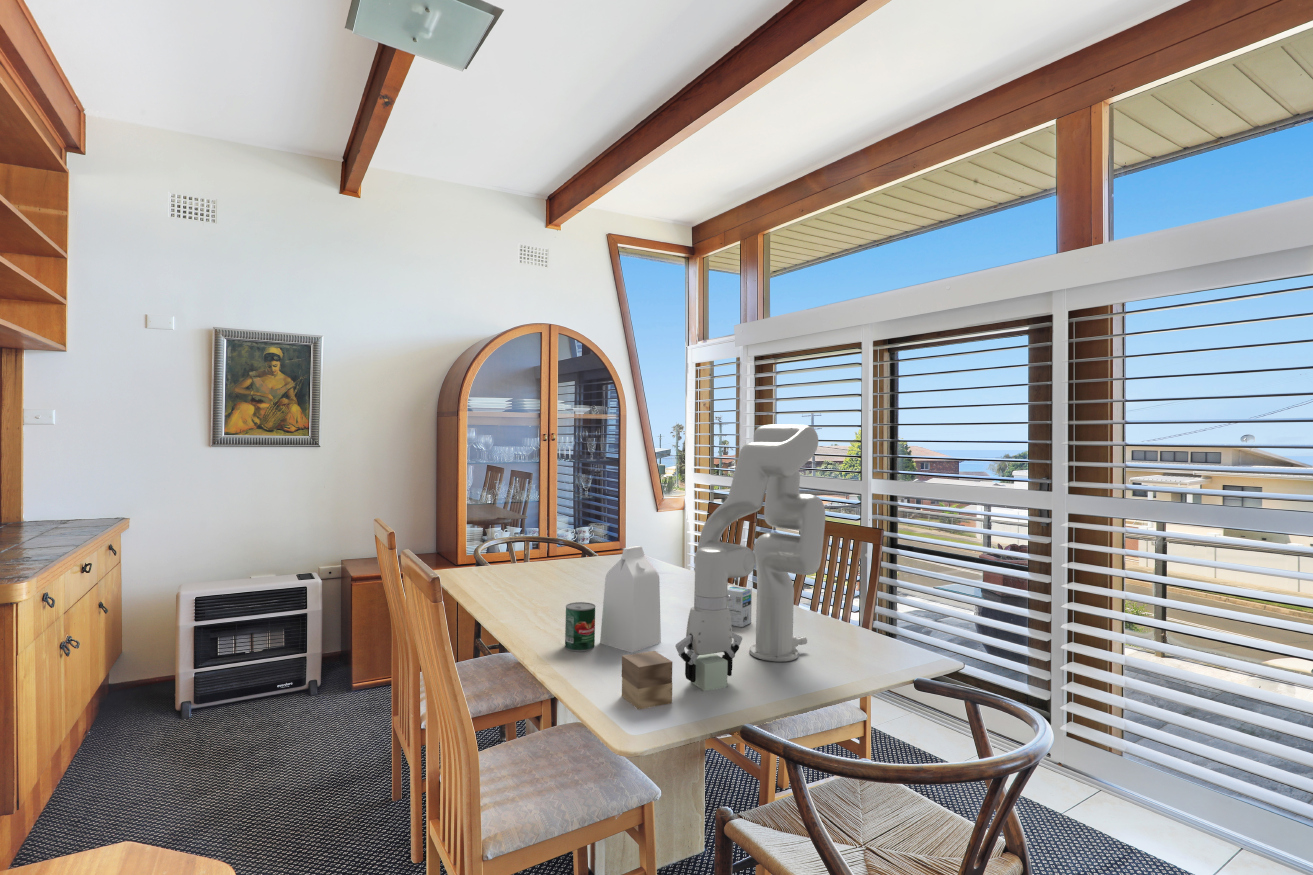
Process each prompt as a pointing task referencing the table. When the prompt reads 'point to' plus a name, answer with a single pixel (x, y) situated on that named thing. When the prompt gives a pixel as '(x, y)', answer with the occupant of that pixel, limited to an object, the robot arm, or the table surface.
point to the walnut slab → (646, 669)
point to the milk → (631, 603)
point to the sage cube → (711, 672)
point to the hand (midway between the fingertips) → (708, 677)
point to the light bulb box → (740, 605)
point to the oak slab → (647, 695)
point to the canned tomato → (580, 626)
